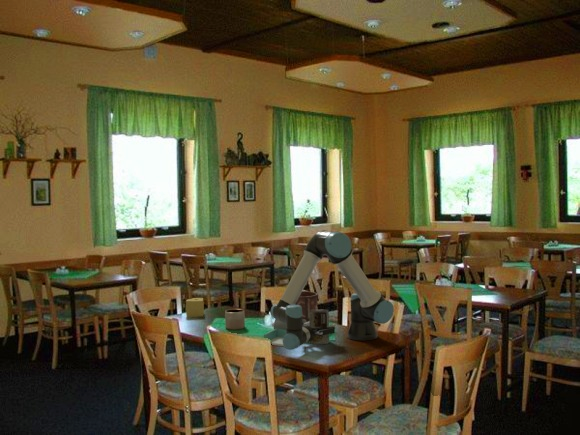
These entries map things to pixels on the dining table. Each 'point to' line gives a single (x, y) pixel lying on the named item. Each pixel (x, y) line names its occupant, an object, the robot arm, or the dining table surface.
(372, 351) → the dining table surface
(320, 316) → the coffee box
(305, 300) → the pottery
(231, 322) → the planter
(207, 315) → the dining table surface
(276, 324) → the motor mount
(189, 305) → the cheese
